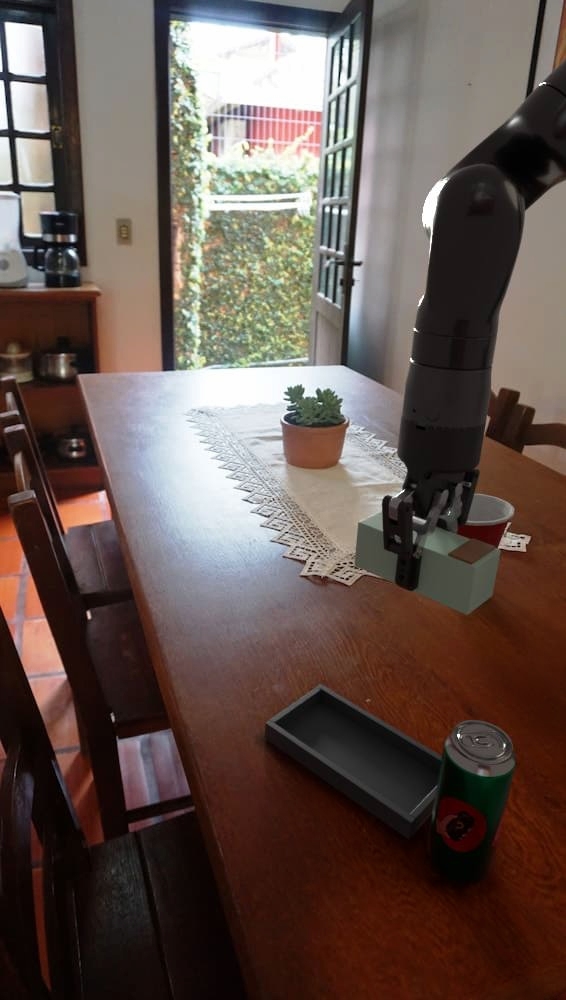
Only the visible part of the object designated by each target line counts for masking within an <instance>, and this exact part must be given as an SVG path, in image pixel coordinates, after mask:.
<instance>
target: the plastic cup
mask: <svg viewBox="0 0 566 1000" xmlns="http://www.w3.org/2000/svg"><path fill="white" fill-rule="evenodd" d="M461 506H462V502H461ZM514 514H515V507H514V506H513V505H512V504H511V503H510V502H508V501H506V500H505V499H501V498H500V497H496V496H492V495H488V494H483V493H474V497H473V500H472V504H471V508H470V511H469V515H468V519H467V522H466V524H465V525H464V526H460V525H459V526H458V531H457V534H458V535H460V536H463V537H466V538H469V539H472V538H473V539H476V540H479V541H482V542H484V543H487V544H490V545H493V546H495V548H496V549H499V547H500V544H501V541H502V538H503V536H504V534H505V531H506V529H507V527H508V523H510V520H511V519H512V518H513V517H514Z"/></svg>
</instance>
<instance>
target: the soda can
mask: <svg viewBox="0 0 566 1000" xmlns="http://www.w3.org/2000/svg"><path fill="white" fill-rule="evenodd" d="M441 756H442V760H441V766H440V771H439V777H438V783H437V789H436V794H435V800H434V806H433V812H432V815H431V816H430V824H429V830H428V835H427V842H426V855H427V857H428V860H429V861H430V863H431V865H432V866H433V868H434V869H435V870H436V871H437V872H438V873H439V874H441V875H442V876H443V877H444V878H446V879H448V880H449V881H452V882H454V883H458V884H464V885H471V884H476V883H480V882H481V881H484V880H485V879H486V878H488V876H489V875H490V873H491V872H492V870H493V865H494V861H495V857H496V853H497V848H498V844H499V840H500V835H501V831H502V826H503V822H504V819H505V813H506V809H507V804H508V800H509V796H510V793H511V792H510V791H511V786H512V782H513V778H514V773H515V770H516V765H517V757H516V754H515V752H514V745H513V742H512V739H511V737H510V736H509V734H507V733H506V732H505V731H504V730H503V729H502V728H500V727H499V726H497V725H495V724H494V723H493V724H492V723H490V722H487V721H484V720H478V719H468V720H463V721H460V722H458V723H457V724H456V725H454V727H453V728H452V730H451V732H450V733H449V734H448V735H447V736H446V737H445V739H444V742H443V748H442V754H441Z"/></svg>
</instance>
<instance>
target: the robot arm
mask: <svg viewBox="0 0 566 1000" xmlns="http://www.w3.org/2000/svg"><path fill="white" fill-rule="evenodd" d="M565 181H566V58H565V59H564V60H563V61H562V62H561V63H560V64H559V65H557V66H556V68H554V70H552V72H551V73H549V75H547V77H545V78H544V80H543V81H541V83H540V84H539V85H537V86H536V88H535V89H534V90H532V92H531V93H530V94H529V95H528V96H527V97H526V99H524V101H523V102H522V103H521V104H520V105H519V107H518V108H517V109H516V110H515V111H514V112H513V113H512V114H511V115H510V117H508V118H507V120H506V121H504V122H503V123H502V124H501V125H499V127H497V128H496V129H495V130H494V131H492V132H491V133H490V134H489V135H487V137H486V138H484V139H483V140H482V141H481V142H480V143H479V144H477V145H476V146H475V147H474V148H473V149H472V150H471V151H469V152H468V153H467V154H466V155H465V156H463V158H461V159H460V160H459V161H458V162H457V163H456V164H455V165H453V166H452V168H451V169H449V170H448V171H447V172H446V173H445V174H444V175H443V176H442V177H440V179H439V180H438V181H437V182H436V183H435V185H433V187H432V189H431V190H430V191H429V193H428V195H427V197H426V200H425V202H424V206H423V211H422V226H423V230H424V234H425V236H426V238H427V240H428V241H429V244H430V245H429V256H428V264H427V271H426V272H427V273H426V282H425V290H424V294H423V295H422V297H421V299H420V300H419V303H418V305H417V309H416V313H415V319H414V324H413V334H412V343H411V344H412V345H411V352H410V359H409V360H410V361H409V366H408V370H407V373H406V377H405V382H404V388H403V396H402V406H401V414H400V421H399V430H398V431H399V432H398V433H399V434H398V439H397V440H398V441H397V449H396V455H397V458H398V459H399V460H400V461H401V462H402V463H403V464H404V466H405V469H406V471H407V472H406V474H405V478H404V481H403V483H402V487H401V492H399V493H398V494H396V496H393V495H390V494H386V495H384V496H383V498H382V500H381V511H382V520H383V542H384V549H385V550H387V551H389V552H393V553H395V554H397V555H398V558H397V566H396V574H395V583H396V584H395V583H394V584H395V585H396V586H397V587H400V588H402V589H404V590H406V591H408V592H413V590H415V589H416V588H417V587H418V582H419V574H420V567H421V560H422V556H421V554H422V552H423V548H424V545H425V542H426V539H427V537H428V536H429V535H432V534H433V533H434V530H435V527H438V528H441V529H444V530H447V531H449V532H452V533H455V534H457V531H458V526H459V525H460V526H464V525H465V524H466V522H467V519H468V515H469V511H470V508H471V504H472V500H473V497H474V494H476V493H475V492H476V489H477V485H478V481H479V478H480V473H481V471H480V469H478V468H477V467H478V466H479V464H480V461H481V455H482V450H483V443H484V438H485V432H486V425H487V420H488V412H489V406H490V400H491V394H492V370H493V363H494V356H495V353H496V352H495V351H496V346H497V339H498V334H499V333H498V332H499V322H500V313H501V309H502V306H503V303H504V300H505V297H506V295H507V291H508V289H509V285H510V282H511V279H512V276H513V272H514V269H515V266H516V263H517V260H518V257H519V252H520V249H521V248H520V247H521V243H522V239H523V235H524V227H525V220H526V219H525V218H526V211H527V210H528V209H530V208H531V206H533V205H534V204H535V203H536V202H537V201H538V200H539V199H541V198H542V197H543V196H544V195H546V193H547V192H548V191H550V190H551V189H552V188H554V187H555V186H558V185H559V184H562V183H563V182H565ZM461 502H462V506H461ZM414 517H415V518H417V519H419V520H421V521H422V520H423V521H425V522H424V523H425V524H420V523H418V522H415V521H413V519H414ZM413 531H415V532H416V533H417V537H416V540H415V543H413ZM395 535H396V536H397V537H396V539H395Z"/></svg>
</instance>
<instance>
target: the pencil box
mask: <svg viewBox="0 0 566 1000" xmlns="http://www.w3.org/2000/svg"><path fill="white" fill-rule="evenodd" d="M413 521H415V522H418V523H420V524H425V523H426V522H424V521H422V520H420V519H419V520H418V519H415V518H413ZM396 537H397V536H396V535H395V539H396ZM416 537H417V533H416V532H415V531H413V543H415V540H416ZM501 551H502V550H501V549H499V548H498V549H496V548H495V546H493V545H490V544H487V543H484V542H482V541H479V540H476V539H473V538H472V539H469V538H466V537H463V536H460V535H458V534H455V533H452V532H449V531H447V530H444V529H441V528H438V527H435V530H434V533H433V534H432V535H429V536H428V537H427V539H426V542H425V545H424V548H423V552H422V554H421V556H422V560H421V567H420V574H419V582H418V587H417V588H416V589H415V590H413V591H412V592H414V593H416V594H418V595H420V596H423V597H425V598H427V599H429V600H432V601H433V602H437V603H439V604H440V605H443V606H446V607H448V608H450V609H453V610H454V611H456V612H460V613H462V614H464V615H466V616H468V615H470V614H471V613H472V612H473V611H475V610H476V609H478V608H479V607H480V606H481V605H482V604H484V603H485V602H486V601H488V600H489V599H490V598H492V597H493V595H494V590H495V584H496V578H497V574H498V573H497V572H498V567H499V563H500V558H501ZM397 558H398V555H397V554H395V553H393V552H389V551H387V550H385V549H384V542H383V520H382V510H381V511H379V512H376V513H373V515H370V516H368V517H366V518H363V519H361V520H360V521H358V522H357V531H356V543H355V555H354V564H353V565H354V567H356V568H359V569H361V570H362V571H366V572H368V573H371V574H372V575H375V576H377V577H379V578H382V579H384V580H387V581H389V582H391V583H393V584H395V585H396V583H395V574H396V566H397Z"/></svg>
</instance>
